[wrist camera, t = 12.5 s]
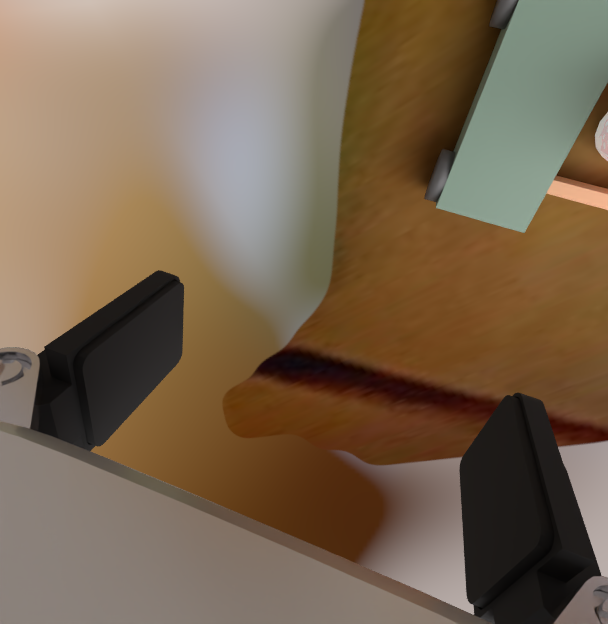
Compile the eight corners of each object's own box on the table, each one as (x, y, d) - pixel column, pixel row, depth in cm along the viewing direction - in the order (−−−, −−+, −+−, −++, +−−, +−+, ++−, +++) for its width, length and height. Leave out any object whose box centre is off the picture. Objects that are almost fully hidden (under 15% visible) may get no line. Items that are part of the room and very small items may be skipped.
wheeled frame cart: (513, -44, 26) (525, -63, 22) (816, 13, 23) (879, 2, 20) (425, 192, 34) (423, 204, 31) (637, 252, 32) (660, 271, 29)
